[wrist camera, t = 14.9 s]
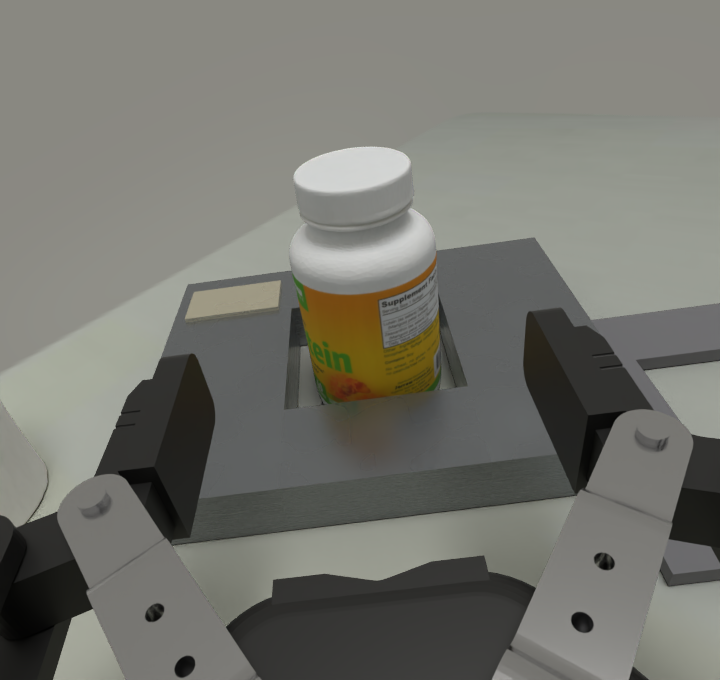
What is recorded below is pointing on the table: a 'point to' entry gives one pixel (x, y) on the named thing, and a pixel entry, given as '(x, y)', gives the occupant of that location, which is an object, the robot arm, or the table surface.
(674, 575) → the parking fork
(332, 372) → the supplement bottle
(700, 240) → the table surface
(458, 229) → the table surface
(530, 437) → the socket block
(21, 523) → the white plastic bottle
